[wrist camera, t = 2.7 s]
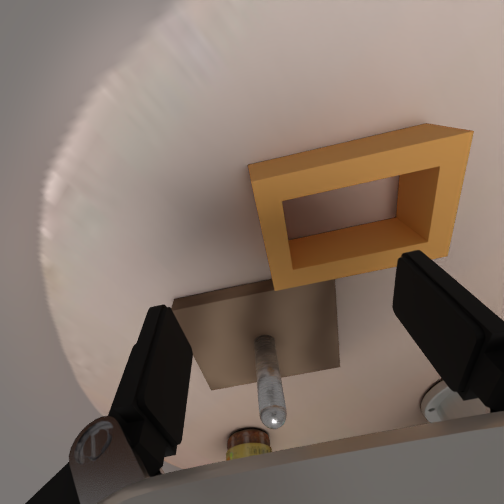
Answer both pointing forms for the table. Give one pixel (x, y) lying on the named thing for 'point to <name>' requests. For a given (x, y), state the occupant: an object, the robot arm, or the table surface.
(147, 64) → the table surface
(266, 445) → the sauce bottle
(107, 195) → the table surface
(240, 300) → the plate
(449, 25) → the table surface
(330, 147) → the link
